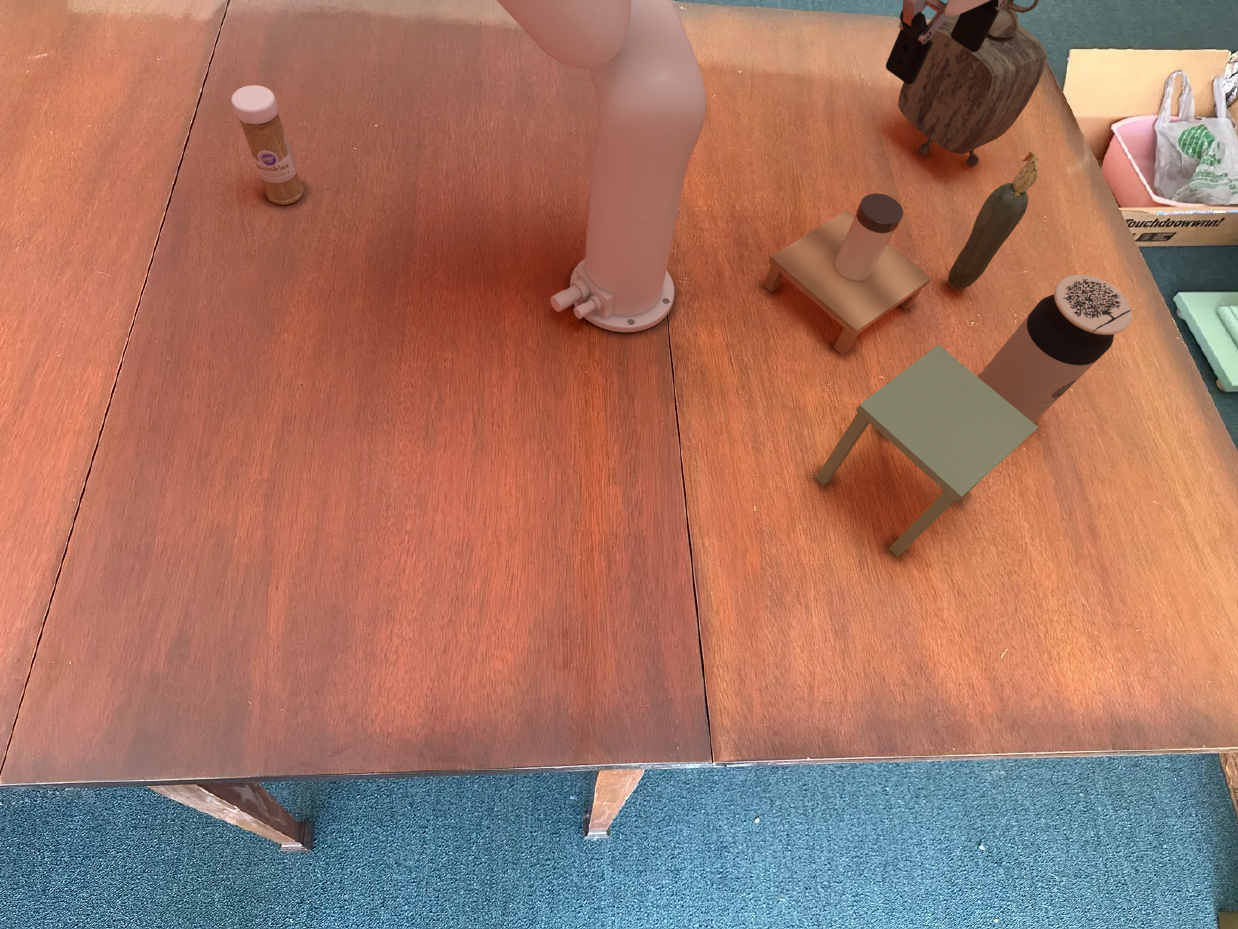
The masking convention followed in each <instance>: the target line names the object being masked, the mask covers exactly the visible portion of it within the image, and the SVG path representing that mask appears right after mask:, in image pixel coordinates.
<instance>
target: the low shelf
mask: <svg viewBox="0 0 1238 929" xmlns="http://www.w3.org/2000/svg"><path fill="white" fill-rule="evenodd" d="M854 217H855V215H853V213H851V212H850V211H849V210H847V209H846V210H844V211H843V212H841V213H839V214H837V215H836V216H834V217H832V218H831V219H829V220H828V221H826V222H824V223H822V224H821V225H818V227H816V228H814V229H813V230H811V231H809V232H808V233H806V234H805V235H803V236H801V237H800V238H798V239H796V240H795V241H793V242H792V243H790V244H788V245H787V246H785V247H783V248H782V249H780V250H778V251H777V252H775V253H773V254H772V255H770V256H769V259H768V264H770V267H769V269H768V272H767V275H766V277H765V281H764V283H763V287H764V288H765V289H766V290H768V292H770V293H772V292H774V291H776V290H777V289H779V287H780V285H781V282H782V280H783V277H785V278H786V279H787V280H788V281H789V282H790V283H792V284H793V285H794V286H795V287H796V288H797V289H798V290H800V291H801V292H802V293H803V294H804V295H805V296H807V298H809V299H810V300H811V301H813V303H815V304H816V305H817V306H818V307H819V308H820V309H822V310H823V311H824V312H825V313H826V314H828V315H829V316H830V317H831V318H832V319H834V321H836V322H837V323H838V324H839V325H840V326H841V327H842V328H843V329H842V331H841V332H840V335H839V337H838V338H837V340H836V342H835V344H834V346H833V349H834V350H835V351H837V352H838V353H839V354H840V355H841V356H843V355H845V354H846V353H847V352H849V351H850V350H851V348H852V346H853V344H854V343H855V341H856V340H857V337H858V336H859V334H860V333H861V332H862V331H864V330H865V329H868V328H869V327H870V326H871V325H873V324H874V323H875V322H876V321H877V322H878V320H879V319H882V317H884V316H885V315H887V314H888V313H890V312H891V311H892V310H894V309H895V308H896V307H898V306H899V307H900V308H902V309H903V310H904V311H906V310H907V309H909V308H910V307H912V305H913V304H914V302H915V301H916V299H917V297H919V294H920V293H921V291H922V290H923V288H925V287H926V286H928V285H929V284H930V282H931V281H932V279H933V277H932V276H931V275H929V274H928V273H927V272H926V271H925V270H923V269H922V268H920V267H919V266H918V265H917V264H915V263H914V262H913V261H912V260H910V258H908V257H906V255H904V254H903V253H902V252H901V251H899V250H897V248H895V247H894V246H893V245H891V243H889V242H888V244H887V246H886V247H885V249H884V251H883V253H882V255H881V257H880V259H879V261H878V263H877V265H876V266H875V268H874V270H873V272H872V274H871V276H870V277H869V278H868V279H866V280H863V281H852V280H849V279H846V278H844V277H843V276H841V275H840V274H839V273H838V272H837V270H836V268H835V264H834V262H835V259H836V257H837V255H838V252H839V250H840V248H841V246H842V244H843V241H844V239H845V237H846V235H847V233H848V231H849V228H850V226H851V224H852V222H853V220H854Z"/></svg>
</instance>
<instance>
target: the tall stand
mask: <svg viewBox="0 0 1238 929" xmlns="http://www.w3.org/2000/svg"><path fill="white" fill-rule="evenodd" d="M855 411H856V412H857V413H856V414H855V416H854V418H853V419H852V421H851V422H850V424H848V426H847V428H846V430H845V431H844V433H843V435H842V436H841V438H840V439H839V441H838V442H837V444H836V446H835V447H834V448H833V450H832V452H831V453H830V454H829V456H828V458H827V459H826V461H825V463H824V464H823V466H822V467H821V469H820V470H819V471H818V473H817V475H816V476H815V480H817V482H819V484H821V485H822V486H823V487H824V486H826V484H828V483H829V482H830V481H831V480H832V479H833V478H834V476H835V475H836V473H837V472H838V470H839V469H840V467H841V466H842V465H843V463H844V461H845V460H846V458H847V457H848V456H849V454H850V453H851V451H852V450H853V448H854V447H855V445H856V444H857V442H858V441H859V440H860V439H861V437H862V435H863V433H864V432H865V431H866V429H867V428H868V426H869V425H871V426H872V427H873V428H875V429H876V431H878V432H879V433H880V434H881V435H882V436H883V437H884V438H886V440H887V441H888V442H890V443H891V444H892V445H893V446H894V447H896V449H898V451H900V452H901V453H902V454H903V455H904V456H905V457H906V458H907V459H908V460H910V461H911V462H912V463H913V464H914V465H915V466H916V467H917V468H919V469H920V470H921V471H922V472H923V473H924V474H925V475H926V476H927V477H929V479H930V480H932V481H933V482H934V483H935V484H936V485H938V486H939V488H941V489H942V490H943V491H942V493H941V494H940V495H939V496H938V497H936V499H935V500H933V502H932V503H931V504H930V505H929V506H928V507H927V508H926V509H925V510H924V512H922V514H920V515H919V517H918V518H916V519H915V521H914V522H912V524H911V525H910V526H908V528H907V529H906V530H905V531H904V532H903V533H902V534H901V535H900V536H899V537H898V538H897V539H896V540H895V541H894V542H893V544H891V545H890V546H889V547H888V550H889V551H890V552H891V553H892V554H893V555H894V556H895V557H897V558H898V557H900V556H901V555H902V553H904V552H905V551H906V550H907V549H908V548H909V547H910V546H911V545H912V544H913V543H914V542H915V541H916V540H917V539H918V538H919V537H920V536H921V535H922V534H924V532H925V531H926V530H927V529H928V528H929V527H931V525H932V524H933V523H935V522H936V521H937V520H938V518H939V517H941V516H942V514H944V513H945V512H946V511H947V510H948V509H949V508H950V506H952V505H953V504H954V503H955V502H956V503H958V502H960V501H961V500H962V499H964V498H965V497H966V496H967V495H968V494H969V492H971V491H972V490H973V489H974V488H975V487H976V486H977V485H978V484H979V483H980V482H981V481H982V480H983V479H984V478H985V477H986V476H988V475H989V473H991V472H992V471H993V470H994V469H995V468H996V467H997V466H998V465H999V464H1001V463H1002V462H1003V461H1004V460H1005V459H1006V458H1007V457H1008V456H1009V455H1011V454H1012V453H1013V452H1014V451H1016V449H1018V448H1019V446H1021V445H1022V444H1023V443H1024V442H1025V441H1026V440H1027V439H1029V437H1030V436H1032V435H1033V434H1034V433H1035V432H1036V431H1037V430H1038V429H1039V426H1038V425H1036V424H1035V422H1034V423H1033V422H1032V421H1030V420H1029V419H1028V418H1027V417H1026V416H1024V415H1023V414H1022V413H1021V412H1019V411H1018V410H1017V409H1016V408H1015V407H1013V406H1012V405H1011V404H1010V403H1009V402H1007V401H1006V400H1005V399H1004V398H1003V397H1001V396H1000V395H999V394H998V393H997V392H995V391H994V390H993V389H992V388H990V387H989V386H988V385H987V384H986V383H984V382H983V381H982V380H981V379H980V378H978V375H976V374H975V373H974V372H972V371H971V370H970V369H969V368H968V367H967V366H965V365H964V364H963V363H962V362H960V361H959V360H958V359H957V358H955V356H953V355H952V354H951V353H950V352H948V350H946V349H945V348H943V347H942V346H941V345H940V344H937V345H936V346H934V347H933V348H932V349H930V350H929V351H927V352H926V353H925V354H924V355H923V356H921V357H920V358H918V359H917V360H916V361H915V362H914V363H912V364H910V365H909V366H908V367H907V368H905V369H904V370H902V372H900V373H899V374H898V375H896V376H895V377H893V379H891V380H890V381H889V382H887V383H885V385H883V386H882V387H880V388H879V389H878V390H877V391H875V392H874V393H873V394H871V395H870V396H869V397H867V398H866V399H865V400H863V401H862V402H861V403H860V404H858V406H857V408H856V409H855Z"/></svg>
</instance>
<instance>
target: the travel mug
mask: <svg viewBox="0 0 1238 929" xmlns="http://www.w3.org/2000/svg"><path fill="white" fill-rule="evenodd" d="M1132 319H1133V312H1132V307H1131V304H1130V303H1129V301H1128V299H1127V298H1126V296H1125V295H1124V294H1123V293H1122V292H1121V291H1120V290H1119V289H1118V288H1117V287H1115V286H1114V285H1113V284H1111V283H1110V282H1108V281H1106V280H1104V279H1102V278H1099V277H1096V276H1093V275H1090V274H1071V275H1067V276H1066V277H1063V278H1062V279H1061V280H1059V281H1058V282H1057V284H1056V285H1055V288H1054V293H1053V294H1050V295H1049V296H1048V295H1047V296H1045V297H1043V298H1042V299H1040V301H1039V302H1038V303H1037V304H1036V305H1035V306H1034V307H1033V309H1032V310H1031V311H1030V313H1029V314H1028V315H1027V316H1026V318H1025V319H1024V320H1023V321H1022V323H1021V324H1019V325H1018V327H1017V328H1016V330H1015V331H1014V332H1013V333H1012V334H1011V335H1010V337H1009V338H1008V340H1006V342H1005V343H1004V344H1003V345H1002V346H1001V348H1000V349H999V350H998V351H997V353H995V355H994V356H993V358H992V359H991V360H990V361H989V362H988V364H987V365H986V366H985V367H984V368H983V370H982V371H981V372H980V373H979V374H978V375H977V377H978V378H980V379H981V380H982V381H983V382H984V383H986V384H987V385H988V386H989V387H990V388H992V389H993V390H994V391H995V392H997V393H998V394H999V395H1000V396H1001V397H1003V398H1004V399H1005V400H1006V401H1007V402H1009V403H1010V404H1011V405H1012V406H1013V407H1015V408H1016V409H1017V410H1018V411H1019V412H1021V413H1022V414H1023V415H1024V416H1026V417H1027V418H1028V419H1029V420H1030V421H1032V422H1033V423H1034V424H1035V422H1036V421H1037V420H1039V419H1040V417H1041V416H1043V415H1044V414H1045V412H1046V411H1047V410H1048V409H1050V408H1051V407H1052V406H1053V405H1054V404H1055V403H1056V402H1057V401H1058V400H1059V399H1060V398H1061V397H1062V396H1063V395H1064V394H1065V393H1066V392H1067V391H1068V390H1069V389H1070V388H1071V387H1072V386H1073V385H1074V384H1075V383H1076V382H1078V380H1079V379H1081V377H1082V376H1083V375H1084V374H1085V373H1086V372H1087V371H1088V370H1089V369H1090V368H1091V367H1092V366H1093V365H1094V364H1095V363H1096V362H1098V360H1099V359H1100V358H1101V357H1102V356H1103V355H1105V353H1106V352H1108V351H1109V349H1110V348H1111V347H1112V346H1113V343H1114V339H1115V338H1114V337H1115V335H1116V334H1119V333H1122V332H1123V331H1125V330H1126V329H1127V328H1128V327H1129V326H1130V324H1131V322H1132Z"/></svg>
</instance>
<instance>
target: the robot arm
mask: <svg viewBox="0 0 1238 929" xmlns="http://www.w3.org/2000/svg"><path fill="white" fill-rule="evenodd" d="M496 1H497V3H498V4H499V5H500V6H501V7H502V8H503V9H504V10H505V11H506V12H507V13H508V14H509V15H510V16H511V18H513V20H514V21H515V22H516V23H517V24H518V25H519V26H520V27H521V28H522V30H524V31H525V33H526V34H527V35H528V36H529V38H530V39H532V41H533V42H534V43H535V44H536V45H537V47H539V48H540V49H541V50H542V51H543V52H544V53H545V54H547V55H548V56H549V57H551V58H552V59H553V60H555V61H557V62H558V63H560V64H563V65H564V66H567V67H571V68H574V69H579V70H580V69H581V70H583V69H585V70H586V69H589V71H590V74H591V80H592V85H593V89H594V92H595V96H596V101H597V106H598V107H597V108H598V133H597V137H596V141H595V144H594V149H593V154H592V159H591V170H590V182H589V189H590V190H589V202H588V212H587V213H588V214H587V226H586V238H585V240H586V241H585V251H584V252H585V253H584V254H585V255H584V258H583V259H582V260H581V261H579V263H578V264H577V265H576V266H575V268H574V269H573V271H572V273H571V276H570V280H569V287H568V288H566V289H563V290H560V291H559V292H557V293H555V294H554V295H552V296H550V300H549V301H550V304H551V306H552V308H553V309H554V310H555V311H556V312H558V313H560V312H561V311H564V310H565V309H567V308H569V307H571V306H572V305H573V306H574V307H573V313H574V316H575V317H576V319H577V320H581V319H583V318H584V319H585V320H586V321H588V322H589V323H591V324H593V325H594V326H597V327H599V328H601V329H604V330H606V331H611V332H617V333H636V332H640V331H645V330H647V329H650V328H652V327H654V326H656V325H658V324H659V323H661V322H662V321H663V320H664V319H665V318H666V317H667V315H668V314H669V313H670V311H671V310H672V306H673V304H674V298H675V284H674V281H673V278H672V277H671V275H670V273H669V271H668V270H667V269H668V264H669V259H670V255H671V250H672V245H673V239H674V236H675V231H676V225H677V222H678V221H677V220H678V215H679V210H680V205H681V199H682V193H683V190H684V185H685V181H686V180H685V179H686V176H687V172H688V167H689V165H690V161H691V158H692V155H693V152H694V149H695V147H696V144H697V143H698V140H699V138H700V136H701V134H702V130H703V128H704V124H705V120H706V114H707V94H706V87H705V83H704V78H703V75H702V71H701V68H700V65H699V62H698V60H697V57H696V54H695V52H694V48H693V45H692V44H691V41H690V39H689V38H688V35H687V32H686V30H685V27H684V23H683V22H682V18H681V16H680V14H679V11H678V9H677V7H676V5H675V2H674V1H673V0H496ZM1006 2H1007V0H947V2H943V1H942V0H903V1H902V10H901V11H900V15H899V20H900V22H899V25H898V26H899V27H898V28H899V29H900V30H899V32H898V34H897V37H896V39H895V42H894V43H893V46H892V49H891V51H890V54H889V56H888V58H887V60H886V63H885V69H886V70H887V71H888V72H890V73H891V74H892V75H893V76H895V77H897V78H898V79H899V80H901V81H902V82H903V83H904V82H905V83H906V84H908V85H910V84H912V83H914V82H915V81H916V79H917V76H918V74H919V72H920V70H921V68H922V66H923V64H924V61H925V59H926V57H927V55H928V53H929V51H930V48H931V46H932V44H933V42H932V41H930V40H929V39H930V38H931V37H932V36H933V34H934V33H935V32H936V31H937V29H938V28H939V27H940V26H941V24H942V23H943V22H944V21H945V19H946V18H947V17H948V16H954V15H958V14H960V16H959V18H958V20H957V22H956V24H955V26H954V28H953V30H952V33H951V38H952V39H953V40H955V41H956V42H958V43H959V44H961V45H962V46H964V47H965V48H967V49H968V50H969V51H971V52H976V51H978V50H979V49H980V48H981V46H982V44H983V42H984V40H985V38H986V36H987V34H988V32H989V31H990V29H991V27H992V25H993V23H994V21H995V19H996V17H997V15H998V13H999V10H997V9H996V7H997V8H999V9H1000V8H1002V7H1003V6H1004V4H1005V3H1006ZM926 7H929V8H930V9H932V11H934V12H936V13H935V14H934V15H933V17H932V18H931V19H930V20H929V22H928V23H927V18H926V15H925V14H924V13H923V12H924V10H925V9H926Z"/></svg>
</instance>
